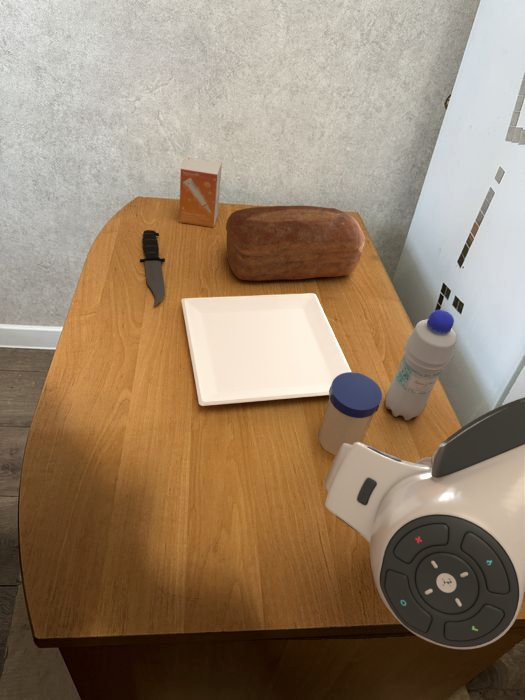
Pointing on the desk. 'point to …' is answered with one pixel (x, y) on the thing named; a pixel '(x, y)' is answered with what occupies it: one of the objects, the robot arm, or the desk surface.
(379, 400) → the lid
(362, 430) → the jar
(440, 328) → the bottle
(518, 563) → the robot arm
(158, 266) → the knife
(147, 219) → the desk surface
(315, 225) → the bread
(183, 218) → the small box
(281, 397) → the plate
